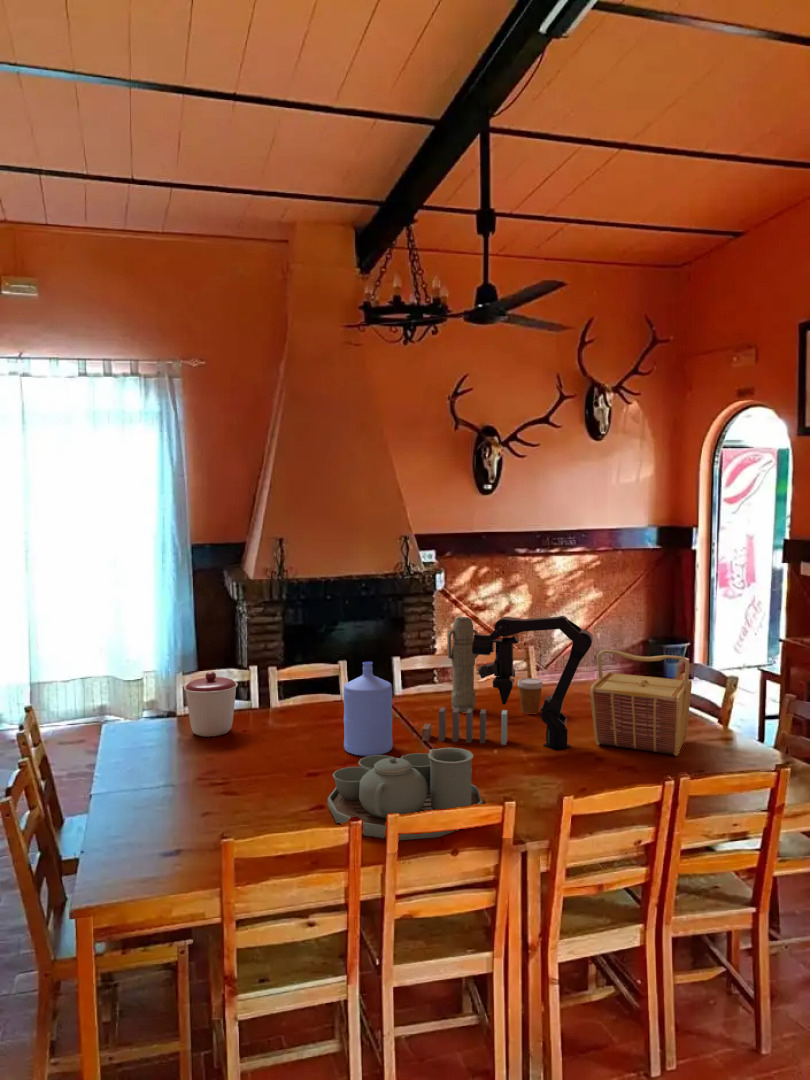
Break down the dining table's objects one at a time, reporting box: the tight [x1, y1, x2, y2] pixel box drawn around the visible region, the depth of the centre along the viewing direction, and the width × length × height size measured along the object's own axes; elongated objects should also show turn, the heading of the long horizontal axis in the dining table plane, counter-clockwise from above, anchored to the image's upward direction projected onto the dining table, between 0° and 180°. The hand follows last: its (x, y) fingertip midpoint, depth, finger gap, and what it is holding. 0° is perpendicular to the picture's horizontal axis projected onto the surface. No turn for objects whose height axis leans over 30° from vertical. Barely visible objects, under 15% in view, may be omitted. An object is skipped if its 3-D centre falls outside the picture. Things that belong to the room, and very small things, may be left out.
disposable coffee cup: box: [516, 677, 544, 714], centre depth 294 cm, size 10×10×12 cm
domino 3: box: [465, 709, 474, 744], centre depth 261 cm, size 2×5×10 cm, turn 169°
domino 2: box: [451, 708, 460, 743], centre depth 262 cm, size 2×5×10 cm, turn 169°
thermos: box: [447, 616, 479, 712], centre depth 297 cm, size 9×12×35 cm
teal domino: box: [500, 709, 508, 746], centre depth 259 cm, size 2×5×10 cm, turn 169°
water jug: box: [342, 661, 394, 757], centre depth 253 cm, size 16×16×28 cm
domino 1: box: [438, 706, 447, 742], centre depth 263 cm, size 2×5×10 cm, turn 169°
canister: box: [183, 671, 239, 738], centre depth 271 cm, size 18×18×21 cm
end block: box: [421, 723, 432, 742], centre depth 264 cm, size 2×6×4 cm, turn 169°
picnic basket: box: [589, 649, 693, 757], centre depth 256 cm, size 29×26×30 cm
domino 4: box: [479, 708, 487, 745], centre depth 260 cm, size 2×5×10 cm, turn 169°
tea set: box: [327, 747, 484, 841], centre depth 205 cm, size 40×40×16 cm
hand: (504, 703), depth 258 cm, fingers open, 3 cm apart
